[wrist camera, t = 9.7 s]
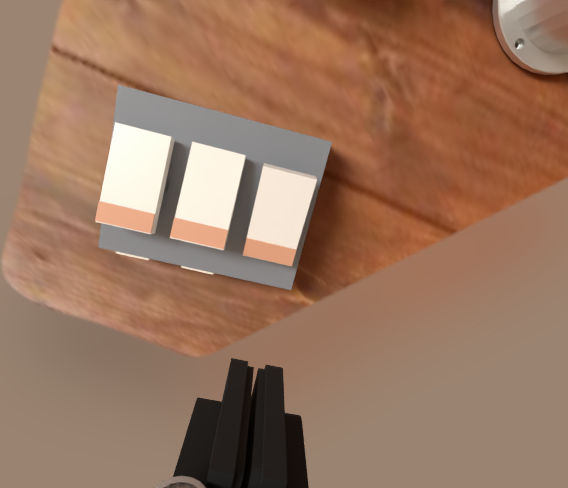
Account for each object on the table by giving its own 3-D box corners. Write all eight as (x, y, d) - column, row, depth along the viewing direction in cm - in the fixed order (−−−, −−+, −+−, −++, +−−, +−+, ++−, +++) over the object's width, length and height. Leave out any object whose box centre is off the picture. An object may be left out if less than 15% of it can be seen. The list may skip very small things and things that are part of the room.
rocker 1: (174, 139, 29) (170, 136, 28) (155, 233, 30) (150, 234, 29) (121, 125, 29) (114, 121, 27) (102, 221, 29) (94, 221, 28)
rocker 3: (315, 176, 29) (317, 180, 28) (291, 260, 32) (291, 267, 31) (263, 162, 29) (263, 166, 27) (244, 249, 32) (242, 255, 31)
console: (325, 142, 34) (334, 141, 29) (288, 277, 37) (291, 296, 33) (136, 92, 32) (112, 82, 27) (116, 238, 36) (92, 253, 31)
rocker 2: (245, 158, 30) (245, 154, 29) (224, 249, 30) (223, 250, 29) (194, 145, 30) (192, 141, 28) (173, 237, 30) (169, 238, 28)
